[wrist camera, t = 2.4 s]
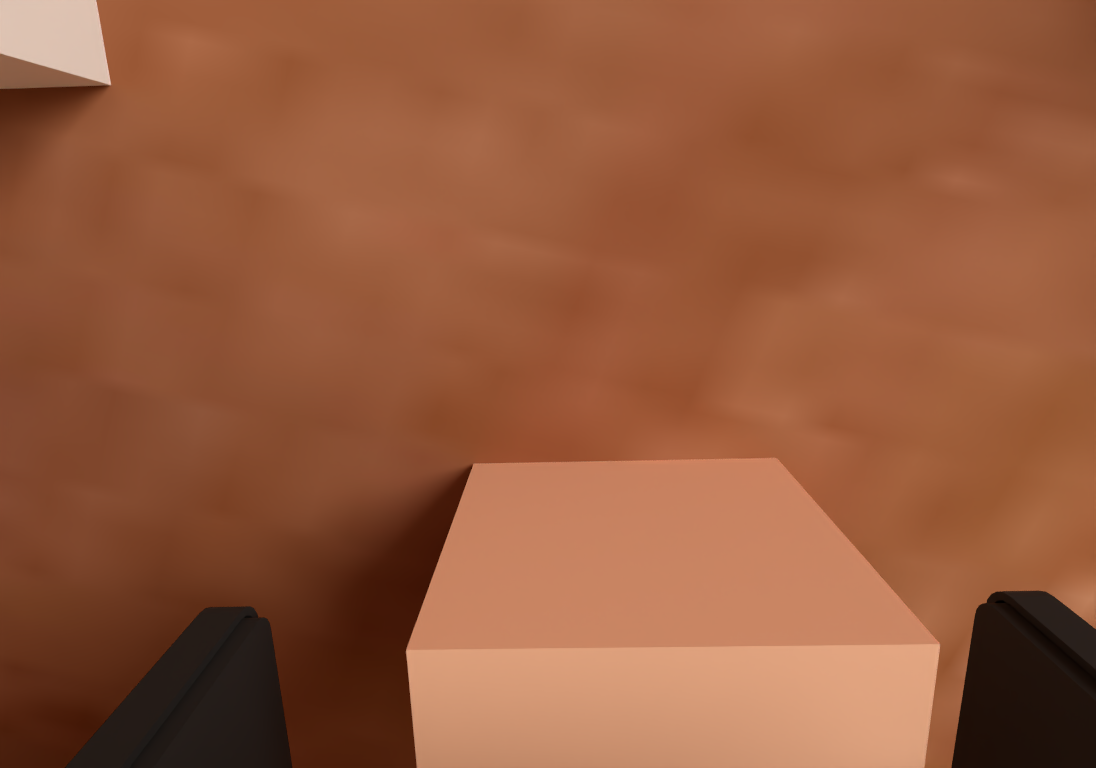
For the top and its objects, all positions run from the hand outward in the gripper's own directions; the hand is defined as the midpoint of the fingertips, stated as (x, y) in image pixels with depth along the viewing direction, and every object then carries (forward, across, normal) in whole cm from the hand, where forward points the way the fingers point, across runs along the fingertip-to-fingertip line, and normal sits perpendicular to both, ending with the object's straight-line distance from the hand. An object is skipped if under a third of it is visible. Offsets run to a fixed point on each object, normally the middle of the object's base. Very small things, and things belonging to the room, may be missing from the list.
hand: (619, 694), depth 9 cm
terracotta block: (+3, 0, 0) cm, 3 cm away
